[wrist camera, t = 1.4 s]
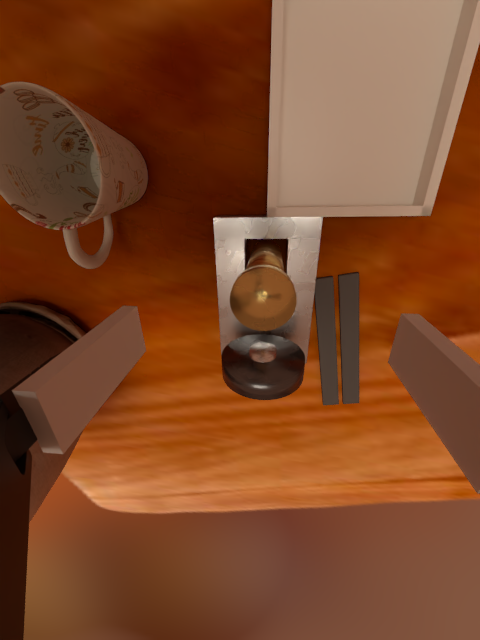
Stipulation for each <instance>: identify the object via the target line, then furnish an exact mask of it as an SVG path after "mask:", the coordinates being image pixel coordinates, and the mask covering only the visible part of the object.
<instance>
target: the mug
mask: <svg viewBox="0 0 480 640" xmlns="http://www.w3.org/2000/svg"><path fill="white" fill-rule="evenodd" d="M147 184H148V171H147V166H146V163H145V160H144V158H143V156H142V155H141V153H140V151H139V150H138V149H137V148H136V147H135V145H133V144H132V143H131V142H130V141H129V140H127V139H126V138H124V137H123V136H121V135H120V134H118V133H117V132H115V131H114V130H112V129H111V128H109V127H108V126H106V125H105V124H103V123H102V122H100V121H99V120H97V119H96V118H94V117H92V116H91V115H89V114H88V113H86V112H85V111H83V110H82V109H80V108H79V107H77V106H76V105H74V104H73V103H71V102H70V101H68V100H67V99H65V98H64V97H62V96H60V95H59V94H57V93H55V92H53V91H51V90H49V89H47V88H45V87H42V86H40V85H37V84H33V83H28V82H11V83H7V84H4V85H1V86H0V194H1V195H2V196H3V198H4V199H5V200H6V201H7V202H8V203H9V204H10V205H11V206H12V207H13V208H14V209H15V210H16V211H17V212H18V213H19V214H21V215H22V216H24V217H25V218H27V219H28V220H30V221H31V222H33V223H35V224H38V225H40V226H42V227H46V228H49V229H55V230H63V234H64V239H65V244H66V247H67V251H68V253H69V255H70V257H71V258H72V260H73V261H74V262H76V263H77V264H78V265H80V266H82V267H84V268H87V269H94V268H97V267H99V266H101V265H102V264H103V263H104V262H105V260H106V259H107V257H108V255H109V252H110V249H111V245H112V240H113V225H112V219H111V213H114V212H116V211H118V210H120V209H123V208H125V207H127V206H129V205H132V204H133V203H135V202H137V201H138V200H139V199H140V198H141V197H142V196H143V194H144V193H145V191H146V188H147ZM102 217H103V218H104V238H103V243H102V245H101V247H100V249H99V251H98V252H97V253H96V254H94V255H88V254H86V253H85V252H84V251H83V250H82V249H81V247H80V244H79V239H78V233H77V228H79V227H82V226H84V225H87V224H89V223H91V222H93V221H96V220H98V219H100V218H102Z"/></svg>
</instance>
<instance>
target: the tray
mask: <svg viewBox="0 0 480 640" xmlns="http://www.w3.org/2000/svg"><path fill="white" fill-rule="evenodd" d="M479 43H480V0H272V34H271V74H270V114H269V154H268V194H267V217H358V216H430V215H431V212H432V208H433V205H434V201H435V198H436V194H437V191H438V187H439V184H440V180H441V177H442V173H443V170H444V166H445V163H446V159H447V156H448V152H449V148H450V145H451V141H452V138H453V134H454V131H455V127H456V124H457V120H458V117H459V113H460V110H461V106H462V103H463V99H464V96H465V92H466V89H467V85H468V82H469V78H470V74H471V71H472V67H473V64H474V60H475V57H476V53H477V50H478V46H479Z"/></svg>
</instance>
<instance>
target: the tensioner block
mask: <svg viewBox="0 0 480 640" xmlns="http://www.w3.org/2000/svg"><path fill="white" fill-rule="evenodd" d="M322 221H323V217H267V215H218V216H216V217H214V218H213V222H214V239H215V256H216V272H217V289H218V305H219V322H220V339H221V355H222V374H223V379H224V381H225V383H226V384H227V386H228V387H229V388H230V389H232V390H233V391H234V392H236V393H238V394H240V395H242V396H245V397H248V398H252V399H258V400H272V399H278V398H282V397H285V396H287V395H290V394H291V393H293V392H294V391H296V390H297V389H298V388H299V387H300V385H301V384H302V381H303V375H304V366H305V363H306V361H307V353H308V344H309V335H310V326H311V317H312V309H313V300H314V291H315V282H316V274H317V265H318V256H319V247H320V238H321V230H322ZM247 239H287V250H286V267H285V273H286V274H287V275H288V276H289V277H290V279H291V280H292V282H293V284H294V288H295V292H296V297H297V303H296V308H295V311H294V313H293V315H292V317H291V318H290V319H289V320H288V321H287V322H286V323H285V324H284V325H282V326H280V327H279V328H276V329H273V330H269V331H258V330H253V329H250V328H248V327H246V326H244V325H243V324H242V323H240V322H239V321H238V320H237V319H236V317H235V316H234V314H233V312H232V310H231V307H230V293H231V290H232V287H233V284H234V282H235V280H236V279H237V277H238V276H239V275H240V274H241V273H242V272H243V271H245V270H246V268H247Z"/></svg>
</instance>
